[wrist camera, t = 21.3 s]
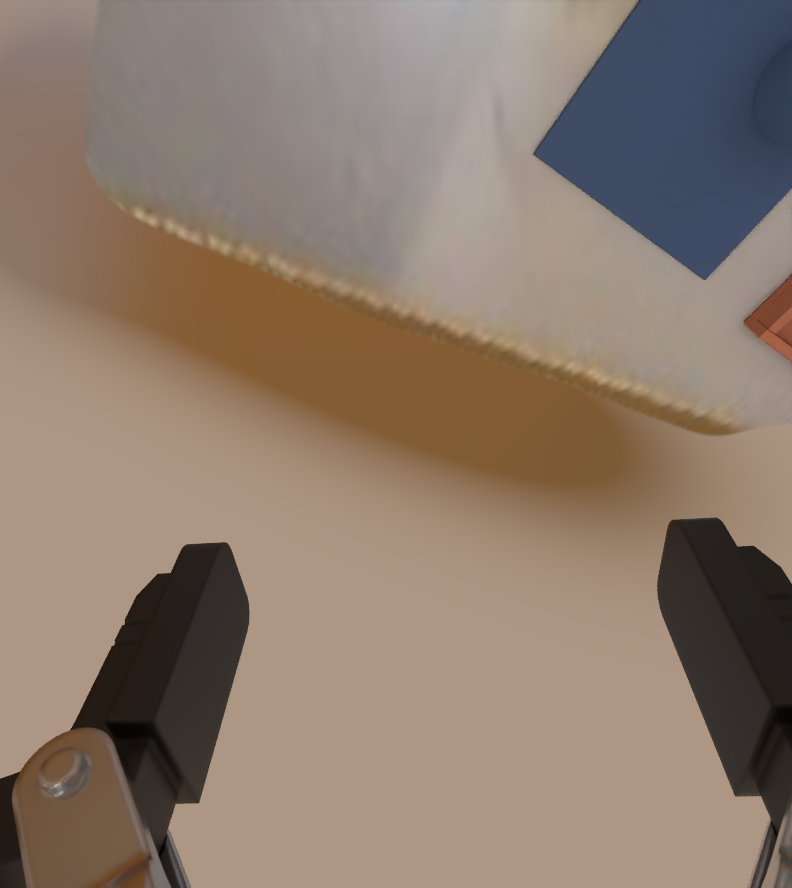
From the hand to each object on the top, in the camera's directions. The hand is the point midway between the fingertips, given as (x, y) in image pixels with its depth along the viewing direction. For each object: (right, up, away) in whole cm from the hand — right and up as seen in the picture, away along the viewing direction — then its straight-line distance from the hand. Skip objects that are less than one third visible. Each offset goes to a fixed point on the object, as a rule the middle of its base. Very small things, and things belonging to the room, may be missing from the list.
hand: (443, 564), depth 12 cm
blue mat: (+14, +18, +19) cm, 30 cm away
